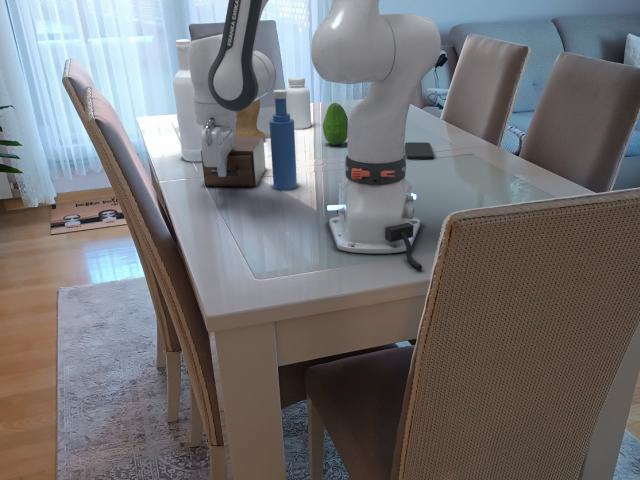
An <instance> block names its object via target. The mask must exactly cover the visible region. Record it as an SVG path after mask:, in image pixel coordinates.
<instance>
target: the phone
mask: <svg viewBox="0 0 640 480" xmlns="http://www.w3.org/2000/svg"><path fill="white" fill-rule="evenodd" d="M404 150H405V154H406V159H408V160H409V159H411V160H414V159H415V160H422V159H423V160H430V159H434V152H433V149H432V145H431V143H430V142H421V141H420V142H419V141H418V142H416V141H415V142H413V141H411V142H408V141H407V142H404Z"/></svg>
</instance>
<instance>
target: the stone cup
mask: <svg viewBox="0 0 640 480" xmlns="http://www.w3.org/2000/svg"><path fill="white" fill-rule="evenodd" d="M260 110H261V98H260V99H258V100H256V101H254V102H253V103H252V104H250V105H249V106H248V107H247V108H245V109H243V110H241V111H237V115H236V119H237V121H236V122H235V127H236V136H263V139H264V138H265V137H266V134H265V133H264V132H263V131H261V130H259V129H258V118H259V115H260Z"/></svg>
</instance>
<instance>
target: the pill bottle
mask: <svg viewBox="0 0 640 480" xmlns="http://www.w3.org/2000/svg"><path fill="white" fill-rule="evenodd" d="M287 81H288V83H287V84H288V87H287V88H285V90H286V91H287V98H286V106H287V113H288V114H290V119H293V120H294V130H303V129H304V130H305V129H308V128H310V127H311V126H312V113H311V93H310V89H309V88H308V87H307V86H306V78H305V77H303V76H295V77H294V76H293V77H289V78H288V79H287Z"/></svg>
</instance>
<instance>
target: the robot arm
mask: <svg viewBox="0 0 640 480" xmlns="http://www.w3.org/2000/svg"><path fill="white" fill-rule="evenodd" d="M269 1H270V0H228V3H227V8H226V15H225V21H224V24H223V25H224V26H223V32H212V33H211V32H210V33H208V34H203V35H199V36H196V37H194V38H193V39H191V40H190V48H189V62H190V74H191V81H192V83H193V86H194V91H195V93H194V106H195V113H196V121H197V124H199V125H203V130H202V132H201V146H202V158H203V163H204V166H205V167H217V170H218V176H219V177H225V176H226V175H227V169H226V167H227V155H228V154H229V153H230V151H231V150H232V148H233V147H234V146H235V141H236V127H235V122H236V121H237V119H236V115H237V111H241V110H243V109H245V108H247V107H248V106H249V105H250V104H252V103H253V102H254V101H256V100H258V99H260V100H261V98H263V97H265V96H267V94H268V93H269V92H271V91H272V90H273V88H274V86H275V84H276V80H277V72H276V71H277V70H276V68H275V65H274V62H273V61H272V60H271V58H270V57H269V56H268V55H267V54H266V53H264V52H261V51H259V50H255V48H256V44H257V37H258V33H259V27H260V23H261V17H262V14H263V12H264V9H265V7H266V6H267V4H268V2H269ZM441 49H442V38H441V33H440V31H439V28H438V26H437V24H436V23H435V22H434V21H433V20H432V19H431V18H429V17H427V16H423V15H419V14H413V13H408V12H406V13H405V12H404V13H384V14H380V0H332V2H331V6H330V8H329V10H328V13H327V14H326V16H325V18H324V19H323V21H322V22H321V23H320V24H319V25H318V26H317V27H316V29H315V30H314V33H313V35H312V38H311V43H310V57H311V62H312V64H313V68H314V69H315V71H316V73H317V74H318V75H319V77H321V79H322V80H324V81H326V82H329V83H336V84H344V85H355V84H356V85H357V84H364V83H370V85H369V88H368V90H367V92H366V94H365V96H364V98H363V99H362V100H360V102H359V103H357V104H356V105H355V106H354V107H353V108H352V109H351V110H350V112H349V115H348V116H347V118H348V138H347V155H345V162H344V169H345V170H344V171H345V172H344V173H345V178H344V179H343V180H342V181H341V182H340V183H338V204H334V205H330V204H329V205H327V207H326V208H327V211H336V213H337V215H338V216H333V217H331V218H329V220H328V221H329V222H328V226H329V228H330V231H331V234H332V237H333V240H334V242H335V245H336V248H337V249H338V250H340V251H343V252H349V253H355V254H375V255H376V254H397V253H403V252H406V254H405V255H406V259H407V261H408V263H409V264H410V265H411V266H412V267H414V268H415V269H417V270H418V271H419V270H422V268H423V266H422V264H421V263H419V262H417V261H416V260H414V257H413V255H412V246H413V243H414V241H415V240H416V236H417V234H418V232H419V229H420V227H421V220H420V219H419V218H416V217H414V216H415V208H414V207H413V206H412V203H414V200H416V199H417V194H415V193H413V192H412V191H413V190H412V189H413V186H412V184H411V183H410V182H409V181H408V179H406V172H407V171H406V169H407V156H405V140H406V126H407V119H408V113H409V109H410V107H411V103H412V101H413V98H414V96H415V94H416V92H417V90H418V87H419V86H420V84H421V82H422V81H423V79H425V77H426V76H427V74H429V73H430V72H431V71H432V70H433V69H434V68H435V66H436V65H437V62H438V60H439V59H440V55H441V51H442V50H441Z"/></svg>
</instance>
